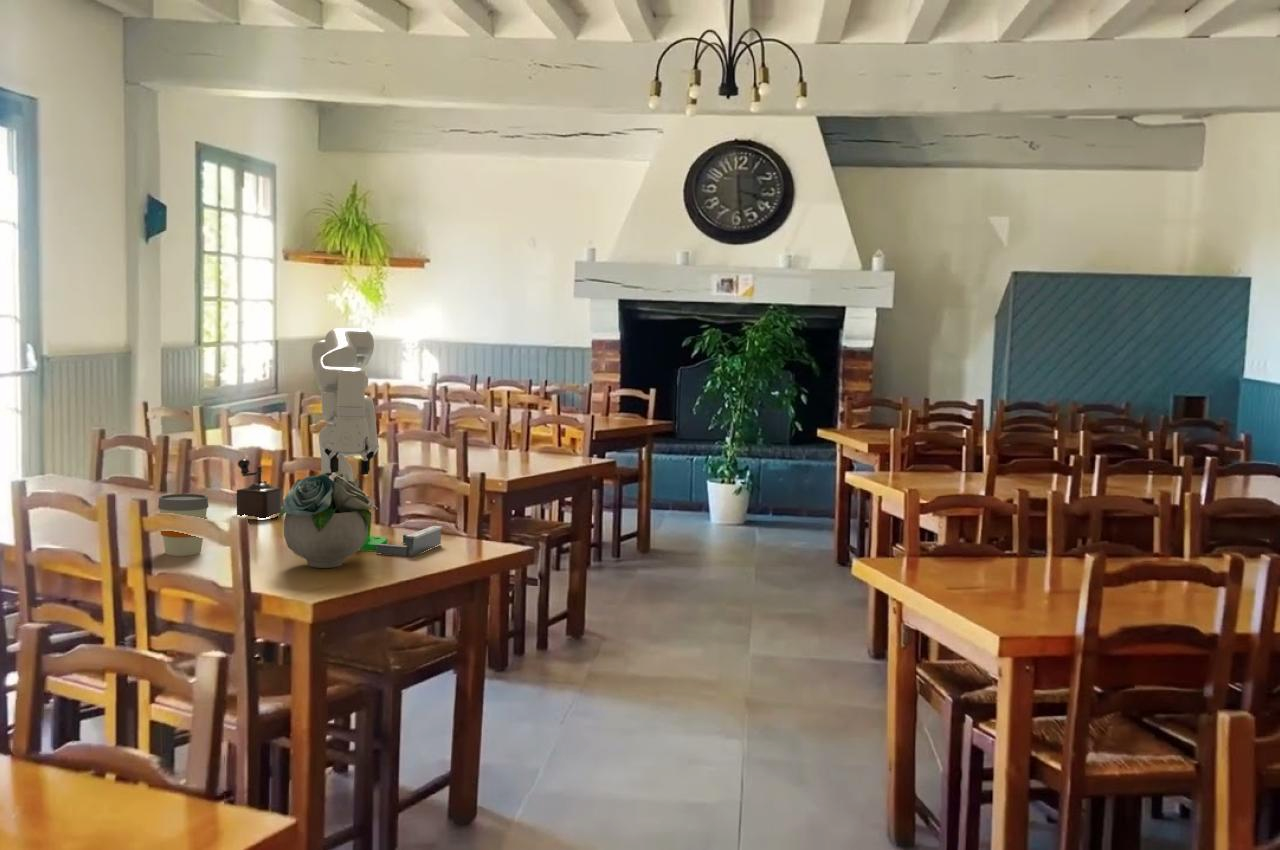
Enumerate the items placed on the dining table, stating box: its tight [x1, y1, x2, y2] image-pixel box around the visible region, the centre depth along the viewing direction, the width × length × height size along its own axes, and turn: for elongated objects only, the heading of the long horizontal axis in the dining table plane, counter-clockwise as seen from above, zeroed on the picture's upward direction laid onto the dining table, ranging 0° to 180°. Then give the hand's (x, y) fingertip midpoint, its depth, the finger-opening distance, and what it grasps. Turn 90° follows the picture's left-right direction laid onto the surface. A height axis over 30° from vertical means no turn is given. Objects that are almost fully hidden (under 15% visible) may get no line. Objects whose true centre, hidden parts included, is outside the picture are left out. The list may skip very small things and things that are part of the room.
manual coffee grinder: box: [236, 458, 283, 518], centre depth 371 cm, size 16×11×18 cm
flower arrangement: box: [276, 473, 379, 569], centre depth 300 cm, size 25×25×24 cm
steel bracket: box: [375, 525, 443, 558], centre depth 327 cm, size 11×19×6 cm, turn 166°
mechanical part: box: [359, 529, 388, 551], centre depth 329 cm, size 12×6×8 cm, turn 178°
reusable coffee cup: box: [157, 493, 209, 557], centre depth 310 cm, size 13×13×15 cm
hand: (349, 473), depth 330 cm, fingers open, 9 cm apart
